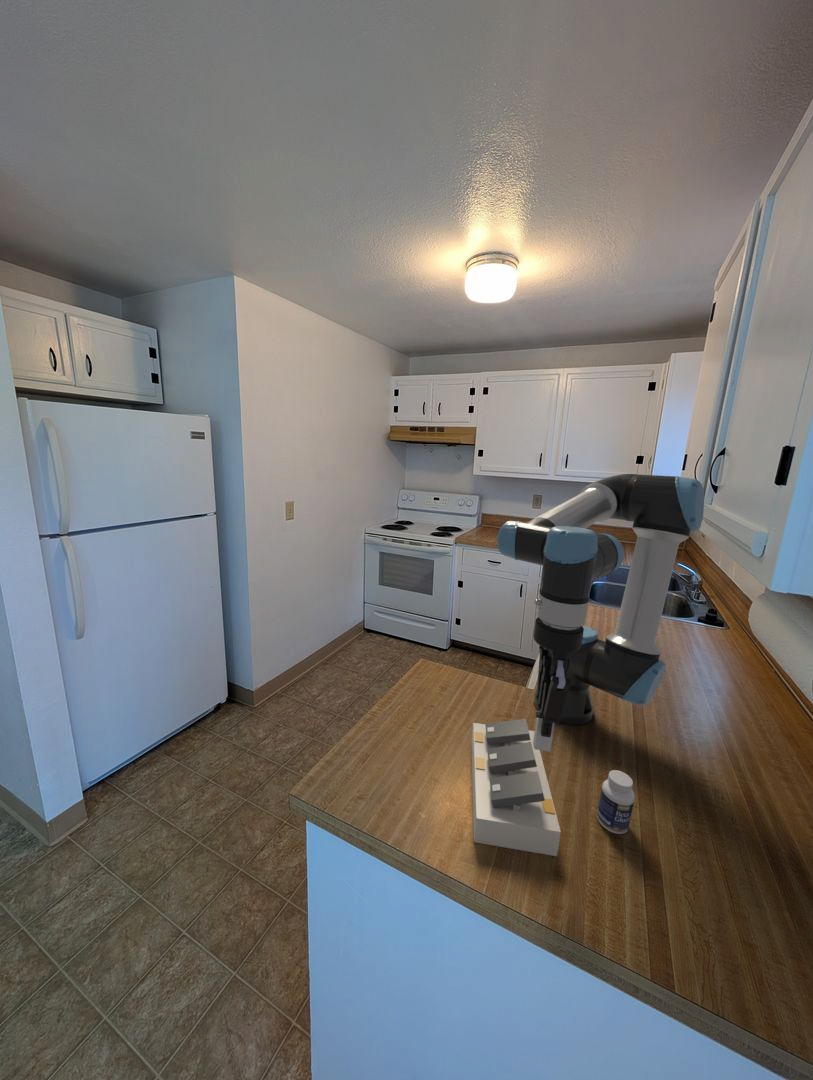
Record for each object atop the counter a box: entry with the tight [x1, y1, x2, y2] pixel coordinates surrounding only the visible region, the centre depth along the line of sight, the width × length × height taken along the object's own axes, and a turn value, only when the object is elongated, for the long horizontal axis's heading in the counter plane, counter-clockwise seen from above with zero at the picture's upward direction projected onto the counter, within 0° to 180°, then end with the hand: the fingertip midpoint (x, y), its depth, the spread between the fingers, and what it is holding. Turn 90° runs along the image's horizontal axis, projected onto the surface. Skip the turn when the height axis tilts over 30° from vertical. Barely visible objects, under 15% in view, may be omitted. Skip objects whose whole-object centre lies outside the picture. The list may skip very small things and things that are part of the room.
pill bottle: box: [596, 769, 636, 835], centre depth 76 cm, size 5×5×10 cm
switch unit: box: [470, 722, 562, 857], centre depth 82 cm, size 14×26×6 cm, turn 172°
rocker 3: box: [490, 771, 545, 808], centre depth 74 cm, size 9×5×2 cm, turn 82°
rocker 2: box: [487, 742, 537, 774], centre depth 81 cm, size 9×5×2 cm, turn 82°
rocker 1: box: [484, 718, 530, 745], centre depth 89 cm, size 9×5×2 cm, turn 82°
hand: (541, 747), depth 71 cm, fingers closed
